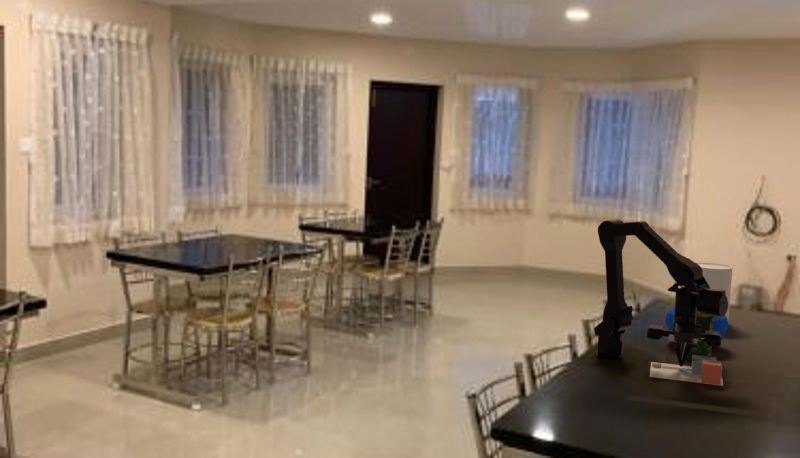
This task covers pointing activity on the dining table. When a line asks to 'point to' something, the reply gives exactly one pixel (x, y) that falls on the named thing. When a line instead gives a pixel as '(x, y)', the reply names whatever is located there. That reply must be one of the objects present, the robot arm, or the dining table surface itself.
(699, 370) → the breaker toggle
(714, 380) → the cap
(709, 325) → the coffee jar
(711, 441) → the dining table surface
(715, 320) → the vase
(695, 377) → the panel
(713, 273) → the canister
